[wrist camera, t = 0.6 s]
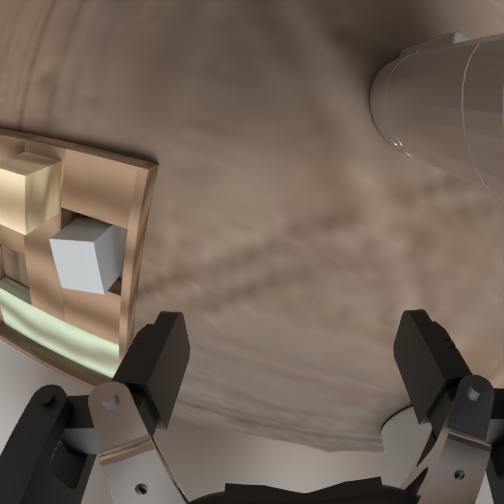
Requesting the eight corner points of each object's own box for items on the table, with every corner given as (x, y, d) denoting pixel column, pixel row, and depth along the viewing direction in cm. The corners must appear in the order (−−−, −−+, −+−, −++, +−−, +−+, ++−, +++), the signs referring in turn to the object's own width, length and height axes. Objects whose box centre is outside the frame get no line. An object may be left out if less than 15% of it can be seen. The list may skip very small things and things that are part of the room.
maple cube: (25, 151, 23) (-11, 165, 18) (62, 161, 24) (25, 176, 19) (23, 200, 26) (-10, 219, 21) (59, 213, 26) (25, 235, 21)
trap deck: (-5, 127, 24) (-34, 135, 20) (158, 164, 26) (136, 176, 22) (10, 317, 38) (-6, 334, 33) (131, 375, 40) (119, 400, 35)
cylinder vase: (366, 435, 44) (382, 556, 22) (412, 396, 39) (448, 534, 17) (412, 438, 46) (434, 542, 23) (455, 402, 40) (492, 515, 18)
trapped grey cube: (78, 217, 29) (49, 238, 24) (120, 219, 29) (93, 242, 24) (86, 262, 31) (61, 287, 27) (126, 266, 31) (104, 294, 26)
